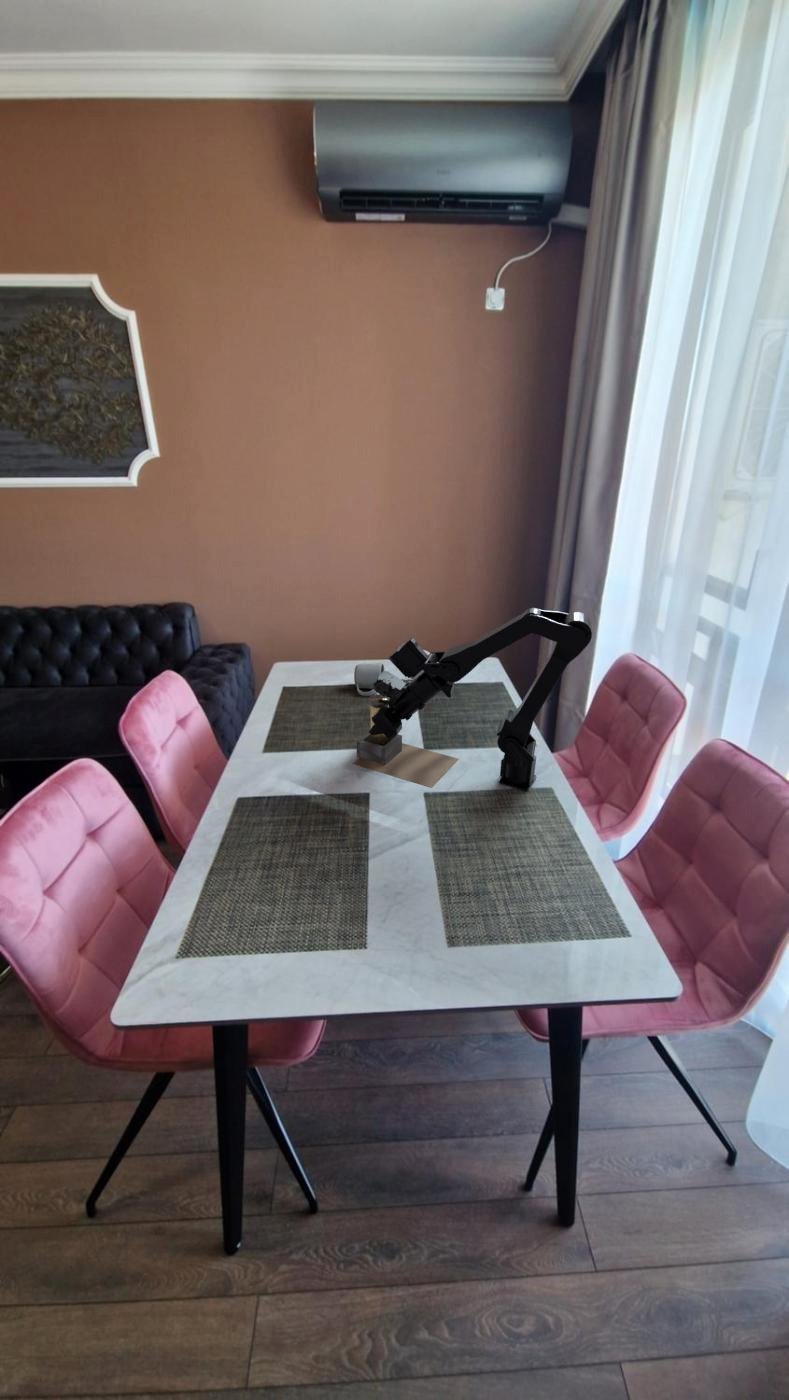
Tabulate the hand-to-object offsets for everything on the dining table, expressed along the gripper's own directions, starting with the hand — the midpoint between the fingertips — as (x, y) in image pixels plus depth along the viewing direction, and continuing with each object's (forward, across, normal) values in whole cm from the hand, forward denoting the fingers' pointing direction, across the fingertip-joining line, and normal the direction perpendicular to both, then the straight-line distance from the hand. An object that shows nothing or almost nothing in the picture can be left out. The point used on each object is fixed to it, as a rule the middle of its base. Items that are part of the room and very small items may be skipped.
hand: (373, 729), depth 138 cm
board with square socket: (0, +1, +11) cm, 11 cm away
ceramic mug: (+17, -38, -6) cm, 42 cm away
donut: (+9, -49, +2) cm, 50 cm away
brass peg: (+3, 0, +5) cm, 6 cm away
